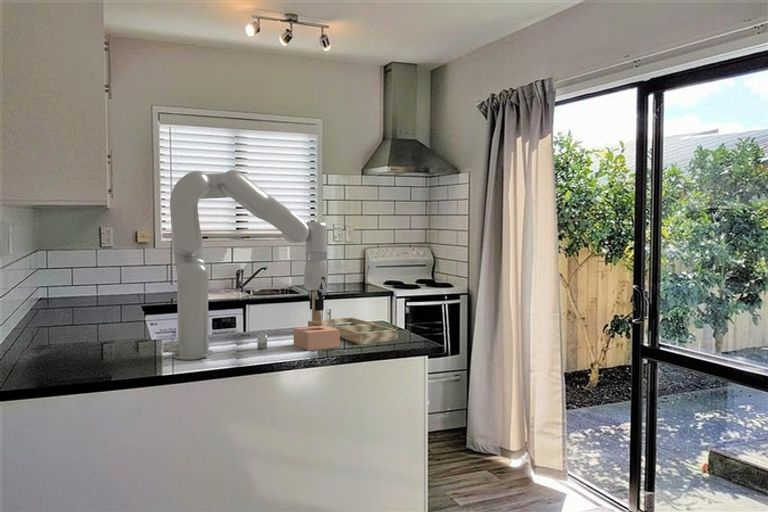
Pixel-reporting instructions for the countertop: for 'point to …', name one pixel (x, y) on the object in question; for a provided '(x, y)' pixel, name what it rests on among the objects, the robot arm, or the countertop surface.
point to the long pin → (315, 312)
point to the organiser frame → (361, 330)
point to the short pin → (261, 341)
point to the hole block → (316, 337)
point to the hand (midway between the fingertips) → (316, 309)
